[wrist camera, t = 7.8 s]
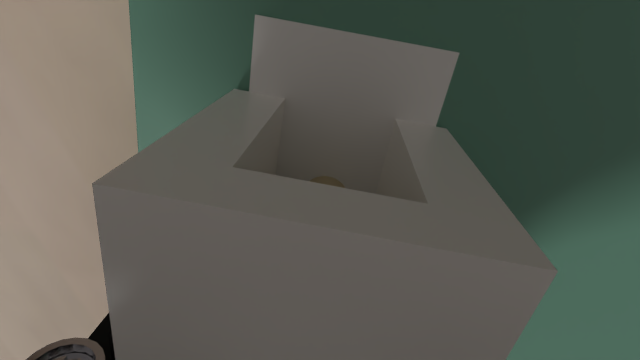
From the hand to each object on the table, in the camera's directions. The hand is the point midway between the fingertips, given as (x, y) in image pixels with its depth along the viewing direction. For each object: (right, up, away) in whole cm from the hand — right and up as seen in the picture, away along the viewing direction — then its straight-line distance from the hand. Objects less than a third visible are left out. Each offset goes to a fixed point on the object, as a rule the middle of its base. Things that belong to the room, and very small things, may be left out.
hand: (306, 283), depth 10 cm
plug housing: (0, -2, +1) cm, 2 cm away
